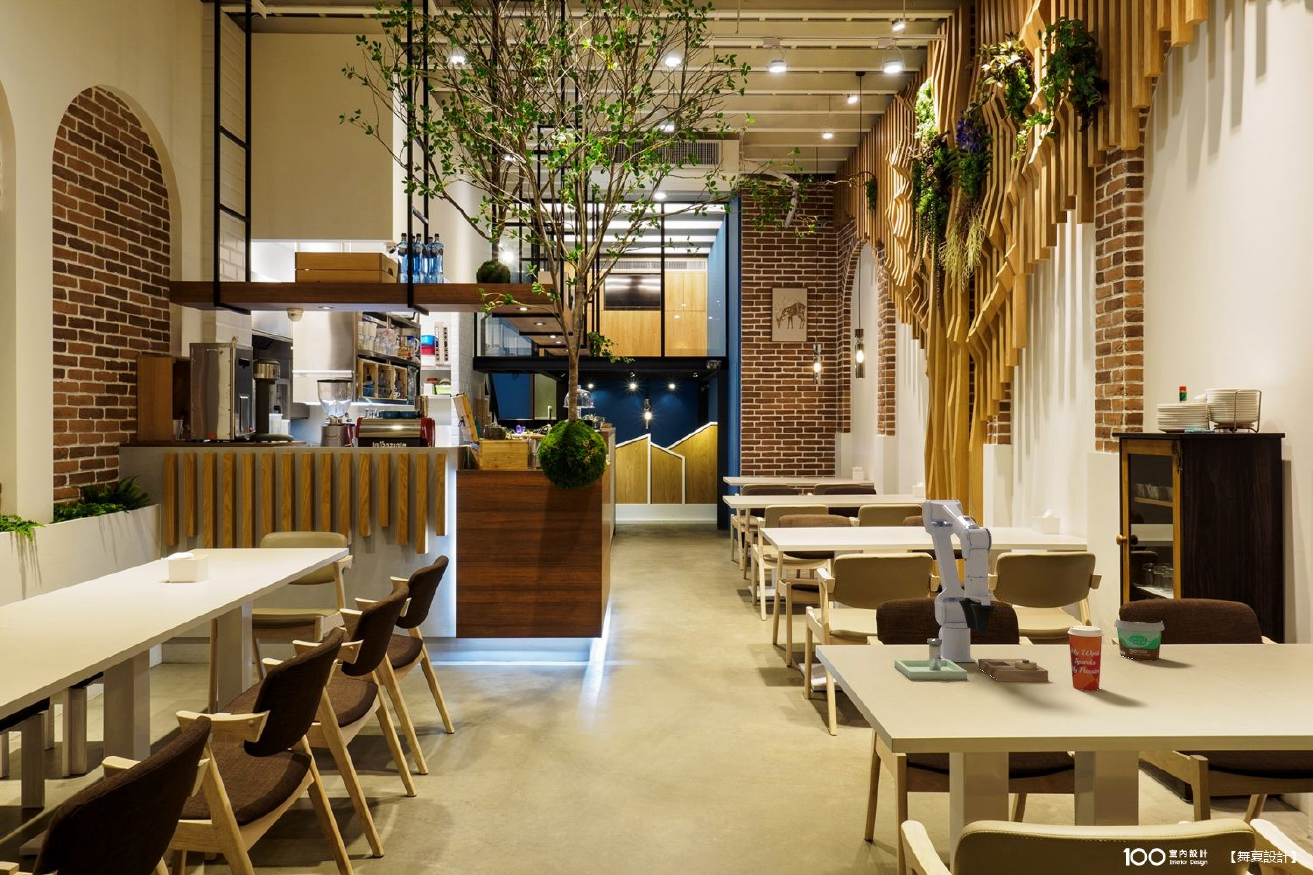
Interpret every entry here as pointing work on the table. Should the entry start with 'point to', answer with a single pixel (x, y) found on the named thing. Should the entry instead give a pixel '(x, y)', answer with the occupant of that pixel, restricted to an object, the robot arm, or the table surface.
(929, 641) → the pin
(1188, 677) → the table surface
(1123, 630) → the food container
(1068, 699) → the table surface
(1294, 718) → the table surface
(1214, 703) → the table surface
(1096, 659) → the paper cup
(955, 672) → the tray
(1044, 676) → the tensioner block
